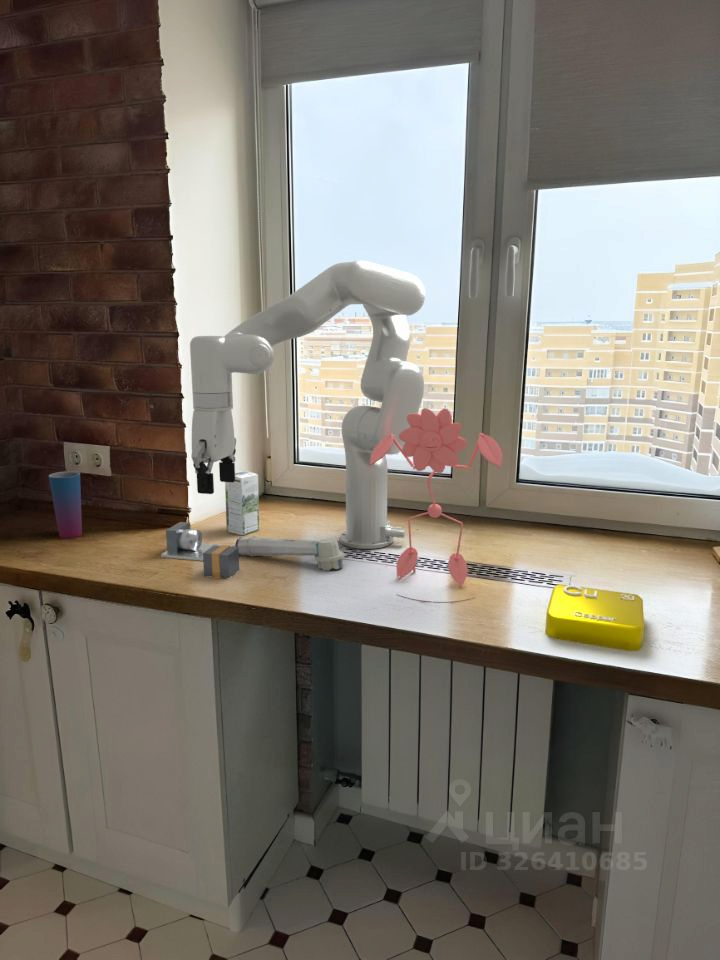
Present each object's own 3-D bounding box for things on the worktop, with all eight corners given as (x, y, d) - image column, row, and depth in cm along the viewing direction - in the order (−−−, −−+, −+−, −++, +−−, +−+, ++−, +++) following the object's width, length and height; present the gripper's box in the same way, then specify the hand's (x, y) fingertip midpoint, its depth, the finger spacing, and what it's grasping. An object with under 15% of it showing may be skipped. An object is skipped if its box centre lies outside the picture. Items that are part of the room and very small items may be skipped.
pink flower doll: (376, 565, 143) (377, 400, 134) (499, 581, 134) (509, 406, 126) (351, 593, 129) (350, 411, 120) (487, 613, 121) (496, 419, 112)
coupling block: (239, 570, 140) (238, 546, 139) (229, 579, 136) (227, 554, 134) (215, 567, 142) (214, 544, 140) (204, 576, 137) (202, 552, 136)
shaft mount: (240, 549, 153) (239, 524, 151) (223, 562, 144) (222, 536, 143) (181, 544, 156) (179, 520, 155) (161, 557, 148) (159, 531, 146)
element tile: (543, 639, 111) (545, 612, 110) (552, 604, 125) (554, 580, 124) (642, 655, 106) (645, 627, 105) (640, 617, 119) (643, 591, 118)
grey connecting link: (244, 533, 152) (345, 532, 142) (249, 562, 153) (349, 562, 143) (231, 540, 147) (334, 539, 137) (236, 569, 148) (339, 571, 138)
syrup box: (243, 526, 170) (240, 469, 166) (260, 530, 166) (258, 473, 163) (226, 532, 165) (223, 474, 162) (243, 536, 162) (241, 477, 158)
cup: (91, 533, 164) (86, 473, 160) (66, 541, 158) (60, 479, 154) (74, 529, 167) (68, 470, 164) (49, 536, 162) (42, 475, 158)
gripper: (214, 395, 139) (218, 476, 143) (172, 406, 123) (178, 497, 127) (248, 397, 138) (251, 478, 142) (210, 407, 121) (215, 499, 125)
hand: (217, 487), depth 134 cm, fingers open, 9 cm apart
